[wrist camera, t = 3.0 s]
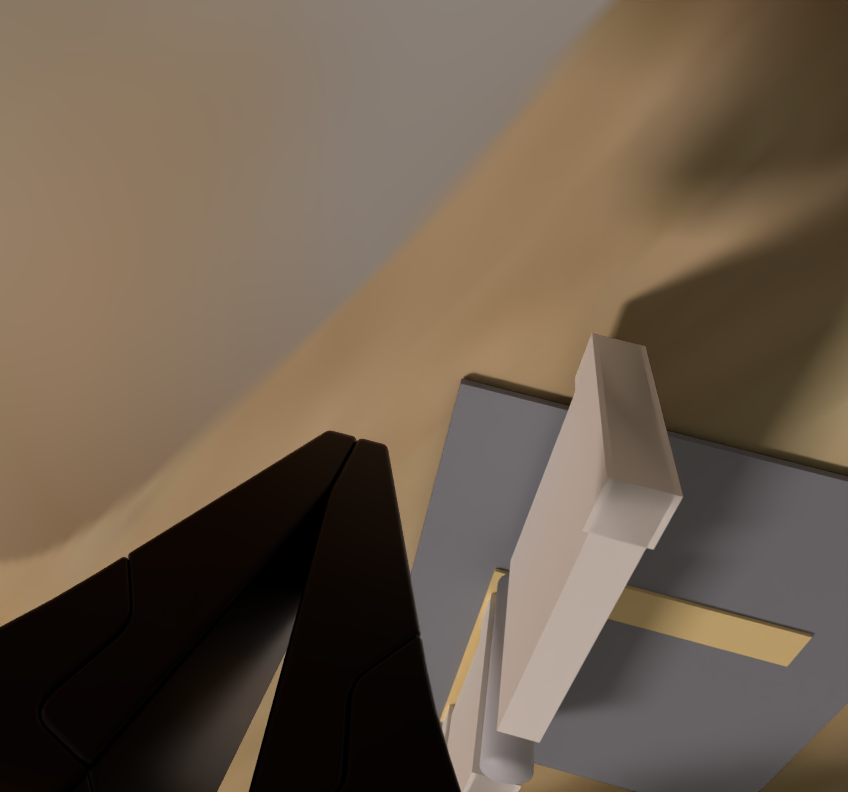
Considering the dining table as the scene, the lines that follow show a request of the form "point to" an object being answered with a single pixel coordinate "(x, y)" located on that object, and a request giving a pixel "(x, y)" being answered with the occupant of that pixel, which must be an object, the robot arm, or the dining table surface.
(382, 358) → the dining table surface
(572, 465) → the swing panel
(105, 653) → the robot arm
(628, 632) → the board
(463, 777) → the fixed panel
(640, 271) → the dining table surface
